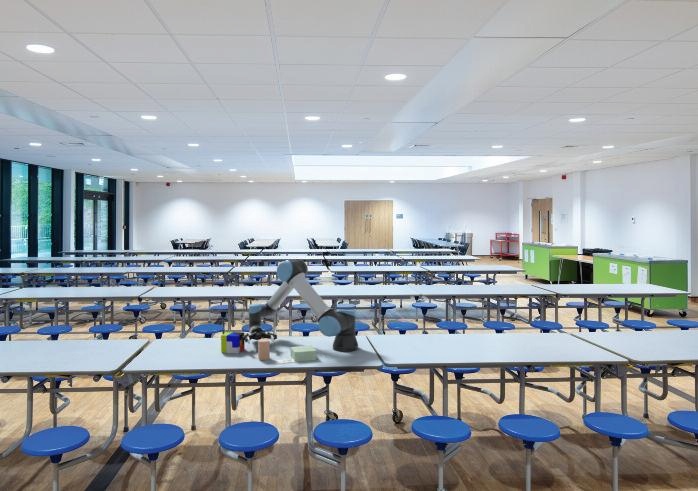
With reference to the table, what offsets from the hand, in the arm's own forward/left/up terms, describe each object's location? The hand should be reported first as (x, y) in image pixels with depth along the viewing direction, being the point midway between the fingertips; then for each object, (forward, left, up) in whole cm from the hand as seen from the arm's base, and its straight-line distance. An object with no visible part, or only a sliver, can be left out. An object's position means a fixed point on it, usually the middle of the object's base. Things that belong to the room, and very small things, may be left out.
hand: (261, 340), depth 291 cm
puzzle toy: (+15, -12, -8) cm, 21 cm away
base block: (-21, +15, -7) cm, 27 cm away
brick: (0, +10, -7) cm, 12 cm away
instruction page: (-11, +19, -7) cm, 23 cm away
